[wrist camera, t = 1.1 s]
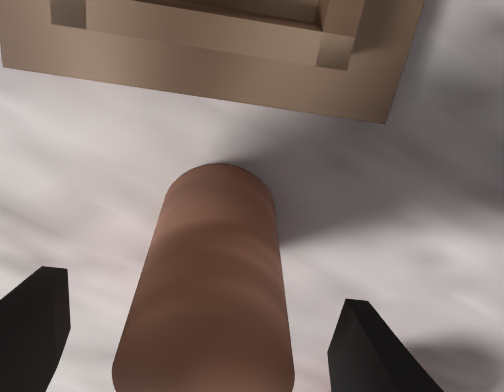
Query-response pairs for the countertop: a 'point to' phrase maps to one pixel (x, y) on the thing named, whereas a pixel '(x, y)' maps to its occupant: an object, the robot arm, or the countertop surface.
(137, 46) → the board
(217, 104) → the countertop surface
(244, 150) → the countertop surface
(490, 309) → the countertop surface
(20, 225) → the countertop surface
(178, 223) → the wooden peg
